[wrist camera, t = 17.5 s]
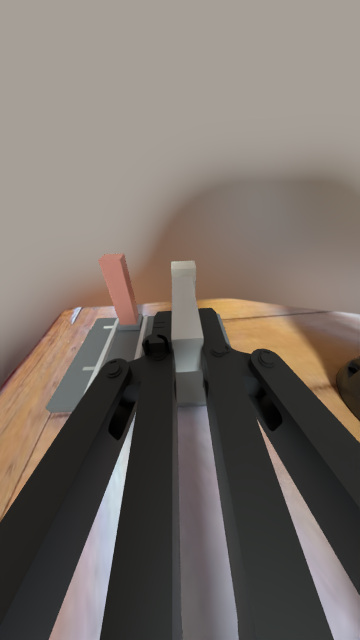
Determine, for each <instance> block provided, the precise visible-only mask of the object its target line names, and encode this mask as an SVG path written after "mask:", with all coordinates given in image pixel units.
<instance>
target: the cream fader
mask: <svg viewBox="0 0 360 640" xmlns="http://www.w3.org/2000/svg"><path fill="white" fill-rule="evenodd" d="M171 272H172V277H185V276H192V281H193V286H194V291H195V287H196V286H195V285H196V266H195V262H194V261H176V262H171Z"/></svg>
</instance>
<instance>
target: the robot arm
mask: <svg viewBox="0 0 360 640" xmlns="http://www.w3.org/2000/svg"><path fill="white" fill-rule="evenodd" d="M152 328H153V329H152V334H150V335H148V336H147V337H146V338H145V339H144V340H143V342H142V347H143V350H144V353H145V355H143V356H142V357H140V358H138V359H135V360H132V361H129V362H127V361H126V360H124V359H122V358H116V359H113V360H110V361H108V362H107V363H105V364H104V365H103V367H102V368H101V369H100V371H99V372H98V374H97V375H96V377H95V378H94V380H93V381H92V383H91V384H90V386H89V387H88V389H87V390H86V392H85V394H84V395H83V397H82V398H81V400H80V401H79V403H78V404H77V406H76V407H75V409H74V410H73V412H72V413H71V415H70V416H69V418H68V420H67V421H66V423H65V424H64V426H63V427H62V429H61V430H60V432H59V433H58V435H57V436H56V438H55V439H54V441H53V442H52V444H51V446H50V447H49V449H48V450H47V452H46V453H45V455H44V456H43V458H42V459H41V461H40V462H39V464H38V465H37V467H36V468H35V470H34V471H33V473H32V475H31V476H30V478H29V479H28V481H27V482H26V484H25V485H24V487H23V488H22V490H21V491H20V493H19V494H18V496H17V497H16V499H15V501H14V502H13V504H12V505H11V507H10V508H9V510H8V511H7V513H6V514H5V516H4V517H3V519H2V520H1V522H0V640H48V639H49V637H50V634H51V632H52V629H53V626H54V624H55V621H56V619H57V616H58V613H59V611H60V608H61V605H62V603H63V600H64V598H65V595H66V592H67V590H68V587H69V585H70V582H71V579H72V577H73V574H74V572H75V569H76V566H77V564H78V561H79V558H80V556H81V553H82V551H83V548H84V545H85V543H86V540H87V538H88V535H89V532H90V530H91V527H92V525H93V522H94V519H95V517H96V514H97V512H98V509H99V506H100V504H101V501H102V498H103V496H104V493H105V491H106V488H107V485H108V483H109V480H110V478H111V475H112V472H113V470H114V467H115V465H116V462H117V459H118V457H119V454H120V451H121V449H122V446H123V444H124V441H125V438H126V436H127V433H128V431H129V428H130V425H131V423H132V420H133V418H134V415H135V412H136V416H135V422H134V428H133V435H132V441H131V447H130V453H129V460H128V466H127V472H126V479H125V485H124V491H123V497H122V504H121V510H120V516H119V522H118V529H117V535H116V541H115V547H114V554H113V560H112V566H111V572H110V579H109V585H108V591H107V597H106V604H105V610H104V616H103V622H102V629H101V635H100V640H183V637H182V623H181V586H180V534H179V482H178V430H177V382H176V372H191V371H203V387H204V391H205V398H206V405H207V412H208V419H209V426H210V432H211V439H212V446H213V453H214V460H215V466H216V473H217V480H218V487H219V494H220V501H221V507H222V514H223V521H224V528H225V535H226V541H227V548H228V555H229V562H230V569H231V576H232V582H233V589H234V596H235V603H236V610H237V619H238V635H239V640H334V639H333V636H332V633H331V630H330V627H329V625H328V622H327V619H326V616H325V613H324V610H323V607H322V605H321V602H320V599H319V596H318V593H317V590H316V587H315V585H314V582H313V579H312V576H311V573H310V570H309V567H308V565H307V562H306V559H305V556H304V553H303V550H302V547H301V545H300V542H299V539H298V536H297V533H296V530H295V527H294V525H293V522H292V519H291V516H290V513H289V510H288V507H287V505H286V502H285V499H284V496H283V493H282V490H281V487H280V485H279V482H278V479H277V476H276V473H275V470H274V467H273V465H272V462H271V459H270V456H269V453H268V450H267V447H266V445H265V442H264V439H263V436H262V433H261V430H260V427H259V425H258V422H257V420H258V421H259V423H260V425H261V427H262V428H263V430H264V432H265V433H266V435H267V437H268V439H269V440H270V442H271V444H272V445H273V447H274V449H275V451H276V452H277V454H278V456H279V457H280V459H281V461H282V463H283V464H284V466H285V468H286V470H287V471H288V473H289V475H290V476H291V478H292V480H293V482H294V483H295V485H296V487H297V488H298V490H299V492H300V494H301V495H302V497H303V499H304V500H305V502H306V504H307V506H308V507H309V509H310V511H311V513H312V514H313V516H314V518H315V519H316V521H317V523H318V525H319V526H320V528H321V530H322V531H323V533H324V535H325V537H326V538H327V540H328V542H329V543H330V545H331V547H332V549H333V550H334V552H335V554H336V556H337V557H338V559H339V561H340V562H341V564H342V566H343V568H344V569H345V571H346V573H347V574H348V576H349V578H350V580H351V581H352V583H353V585H354V586H355V588H356V590H357V592H358V593H359V595H360V443H359V442H358V441H357V440H356V439H355V437H354V436H353V435H352V434H351V433H350V432H349V431H348V430H347V429H346V428H345V427H344V426H343V424H342V423H341V422H340V421H339V420H338V419H337V418H336V417H335V416H334V415H333V414H332V413H331V412H330V410H329V409H328V408H327V407H326V406H325V405H324V404H323V403H322V402H321V401H320V400H319V399H318V398H317V396H316V395H315V394H314V393H313V392H312V391H311V390H310V389H309V388H308V387H307V386H306V385H305V384H304V382H303V381H302V380H301V379H300V378H299V377H298V376H297V375H296V374H295V373H294V372H293V371H292V369H291V368H290V367H289V366H288V365H287V364H286V363H285V362H284V361H283V360H282V359H281V358H280V357H279V356H278V355H277V354H276V353H274V352H272V351H270V350H267V349H257V350H255V351H253V352H252V354H249V353H244V352H239V351H236V350H234V349H232V348H231V347H230V345H228V344H227V343H226V341H225V338H224V335H223V332H222V329H221V326H220V323H219V320H218V317H217V314H216V312H215V311H214V310H213V309H212V308H200V309H198V307H197V302H196V297H195V291H194V286H193V281H192V276H185V277H172V311H162V312H157V314H156V315H155V316H154V320H153V327H152ZM337 386H338V390H339V392H340V394H341V396H342V398H343V400H344V401H345V403H346V404H347V406H348V407H349V408H350V410H351V411H352V412H353V413H354V414H355V415H356V417H357V418H358V419H359V420H360V357H357V358H354V359H352V360H351V361H349V362H348V363H347V364H346V365H345V366H344V367H342V368H341V369H340V371H339V372H338V374H337ZM256 418H257V419H256Z"/></svg>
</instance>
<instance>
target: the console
mask: <svg viewBox="0 0 360 640" xmlns="http://www.w3.org/2000/svg"><path fill="white" fill-rule="evenodd" d="M217 317H218V320H219V323H220V326H221V329H222V332H223V335H224V338H225V341H226V343H227V344H228V345H230V343H229V340H228V337H227V334H226V331H225V329H224V326H223V323H222V320H221V318H220V315H219V314H217ZM153 320H154V316H149V317H148V316H144V317H143V321H142V326H141V330H120V331H118V330H117V327H116V326H117V324H118V321H119V319H118V317H117V318H100V319H97V320H96V322H95V324H94V325H93V327H92V329H91V330H90V332H89V334H88V336H87V337H86V339H85V341H84V343H83V344H82V346H81V348H80V349H79V351H78V353H77V355H76V356H75V358H74V360H73V362H72V363H71V365H70V367H69V368H68V370H67V372H66V374H65V375H64V377H63V379H62V381H61V382H60V384H59V386H58V387H57V389H56V391H55V393H54V394H53V396H52V398H51V399H50V401H49V403H48V405H47V406H46V409H47V410H48V411H49V412H51V413H52V412H73V410H74V409H75V407H76V406H77V404H78V403H79V401H80V400H81V398H82V397H83V395H84V394H85V392H86V390H87V389H88V387H89V386H90V384H91V383H92V381H93V380H94V378H95V377H96V375H97V374H98V372H99V371H100V369H101V368H102V367H103V365H104V364H105V363H107V362H108V361H110V360H113V359H116V358H122V359H124V360H126V361H127V362H129V361H132V360H135V359H138V358H140V357H142V356H143V355H145V353H144V350H143V347H142V342H143V340H144V339H145V338H146V337H147V336H148V335H150V334H152V329H153V328H152V327H153ZM230 347H231V345H230ZM176 382H177V407H187V406H207V405H206V398H205V391H204V387H203V371H191V372H176Z"/></svg>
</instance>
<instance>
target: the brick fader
mask: <svg viewBox="0 0 360 640" xmlns="http://www.w3.org/2000/svg"><path fill="white" fill-rule="evenodd" d="M99 263H100V266H101V269H102V272H103V275H104V278H105V281H106V284H107V287H108V289H109V293H110V296H111V299H112V302H113V304H114V307H115V310H116V313H117V316H118V319H119V321H118V324H117V326H116V327H117V330H118V331H120V330H141V326H142V321H143V315H142V314H138V310H137V306H136V302H135V298H134V293H133V289H132V285H131V281H130V277H129V272H128V269H127V264H126V260H125V256H124V254H104V255H103V256H102V257H101V258H100V259H99Z"/></svg>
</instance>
